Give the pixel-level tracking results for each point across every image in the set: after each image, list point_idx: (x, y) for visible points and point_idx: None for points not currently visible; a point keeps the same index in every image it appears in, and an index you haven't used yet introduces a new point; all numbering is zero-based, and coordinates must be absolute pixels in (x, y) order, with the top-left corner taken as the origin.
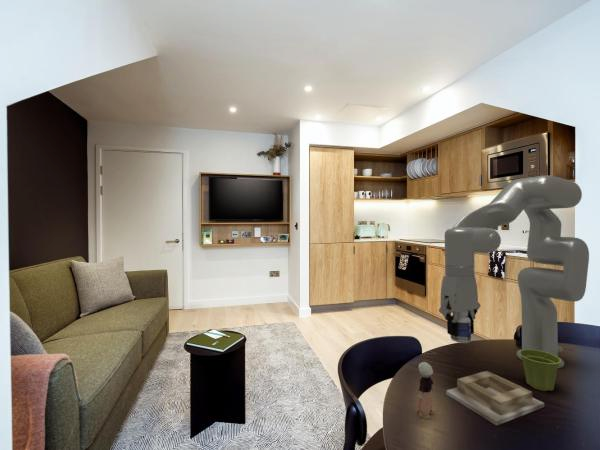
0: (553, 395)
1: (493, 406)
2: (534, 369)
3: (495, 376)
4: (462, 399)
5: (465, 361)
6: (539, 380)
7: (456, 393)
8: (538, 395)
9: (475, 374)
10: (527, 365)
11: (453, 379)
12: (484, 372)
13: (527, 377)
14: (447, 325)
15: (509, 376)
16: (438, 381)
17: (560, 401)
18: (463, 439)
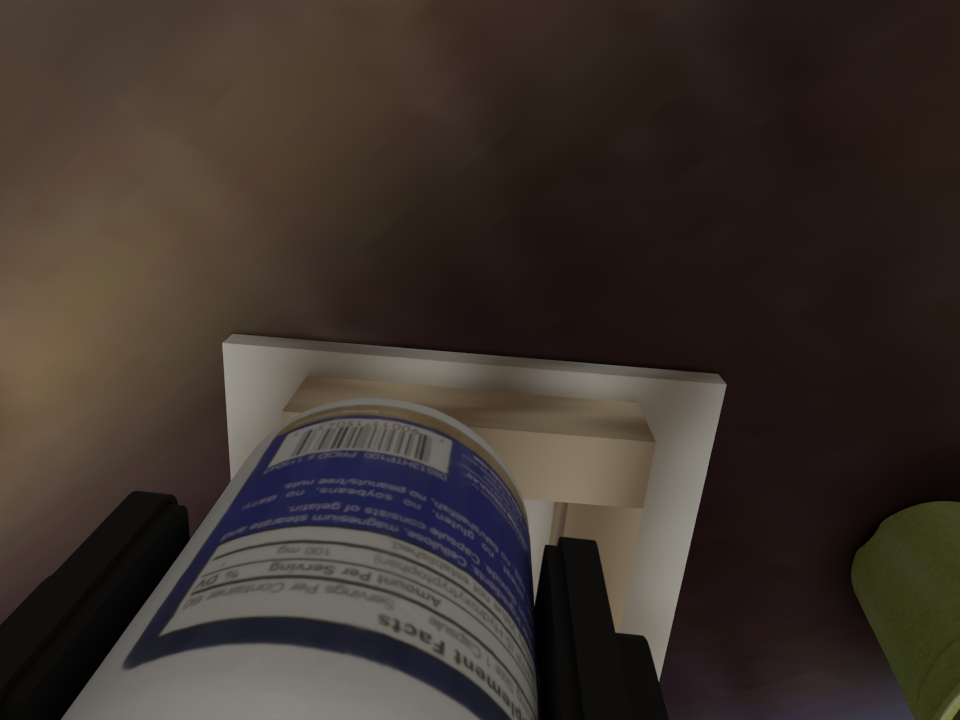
0: (848, 640)
1: None
2: (907, 683)
3: (611, 523)
4: (240, 460)
5: (936, 29)
6: (879, 638)
7: (263, 400)
8: (772, 604)
9: (498, 435)
10: (931, 648)
11: (472, 219)
12: (603, 449)
13: (893, 562)
14: (41, 592)
15: (918, 403)
16: (326, 179)
17: (800, 678)
18: (6, 613)
